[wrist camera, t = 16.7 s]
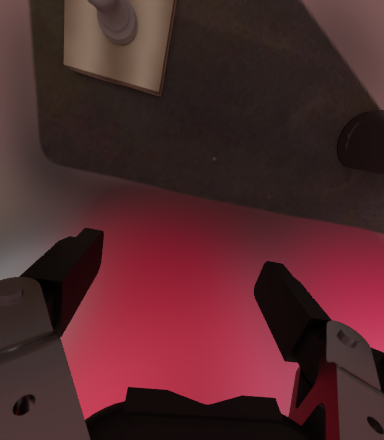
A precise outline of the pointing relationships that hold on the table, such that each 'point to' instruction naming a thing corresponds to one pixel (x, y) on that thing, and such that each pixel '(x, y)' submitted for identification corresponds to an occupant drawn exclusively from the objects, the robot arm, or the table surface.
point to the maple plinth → (120, 54)
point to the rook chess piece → (116, 19)
